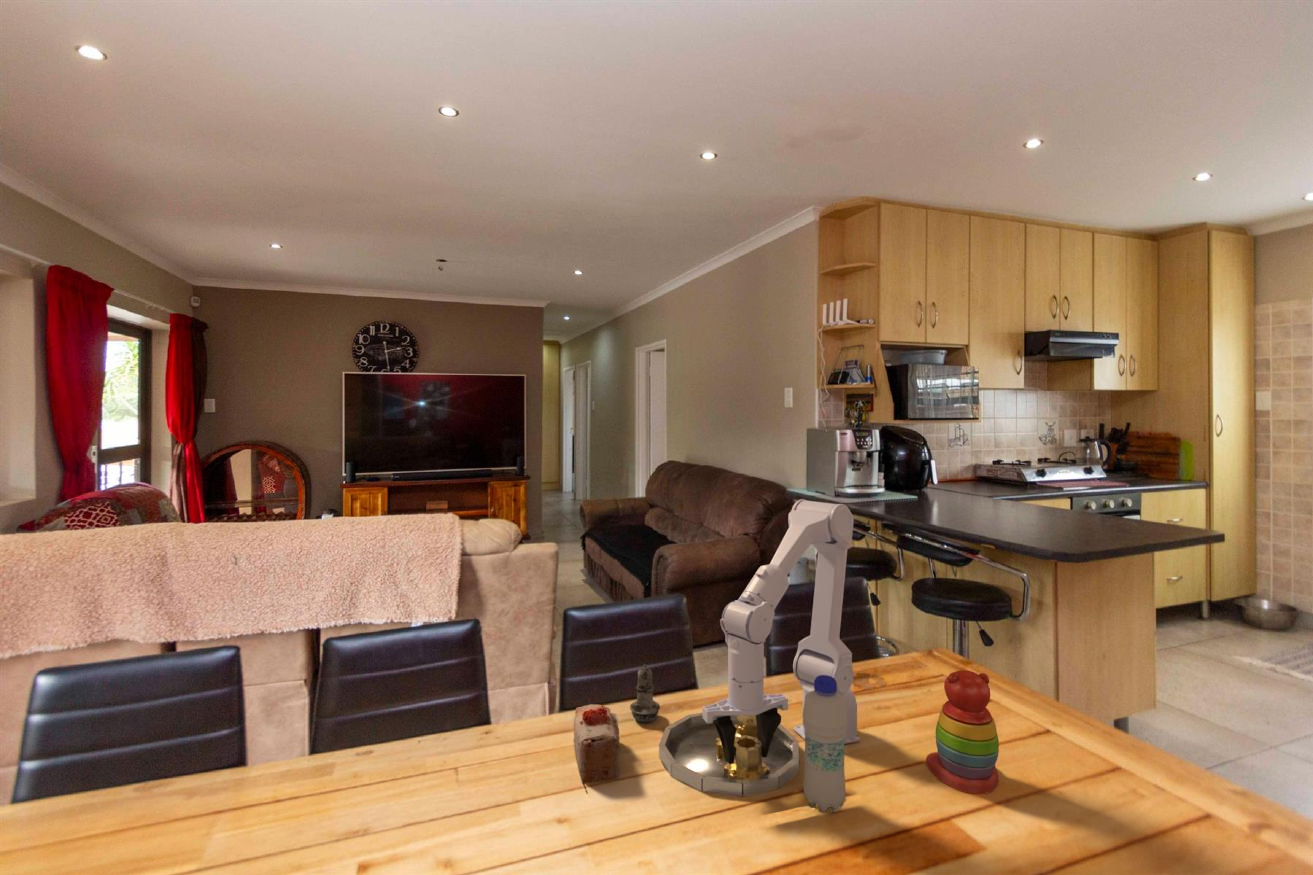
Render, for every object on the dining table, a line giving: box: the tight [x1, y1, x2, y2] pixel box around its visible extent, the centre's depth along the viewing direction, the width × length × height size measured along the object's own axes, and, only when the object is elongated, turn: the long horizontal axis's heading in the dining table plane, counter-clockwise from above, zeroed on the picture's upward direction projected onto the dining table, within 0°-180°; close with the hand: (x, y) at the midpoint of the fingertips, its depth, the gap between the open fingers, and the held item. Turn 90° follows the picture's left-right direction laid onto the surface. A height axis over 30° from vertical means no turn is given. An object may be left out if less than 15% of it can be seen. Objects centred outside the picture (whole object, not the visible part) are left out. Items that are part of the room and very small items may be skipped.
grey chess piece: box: [629, 663, 661, 723], centre depth 123 cm, size 6×6×12 cm
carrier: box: [658, 712, 801, 797], centre depth 110 cm, size 24×24×7 cm
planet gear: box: [724, 735, 770, 780], centre depth 104 cm, size 7×7×5 cm
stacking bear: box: [925, 669, 1000, 795], centre depth 105 cm, size 11×10×18 cm
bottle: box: [802, 675, 848, 813], centre depth 98 cm, size 7×7×20 cm
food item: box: [573, 704, 621, 790], centre depth 109 cm, size 14×8×10 cm, turn 13°
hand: (745, 757), depth 104 cm, fingers open, 5 cm apart
